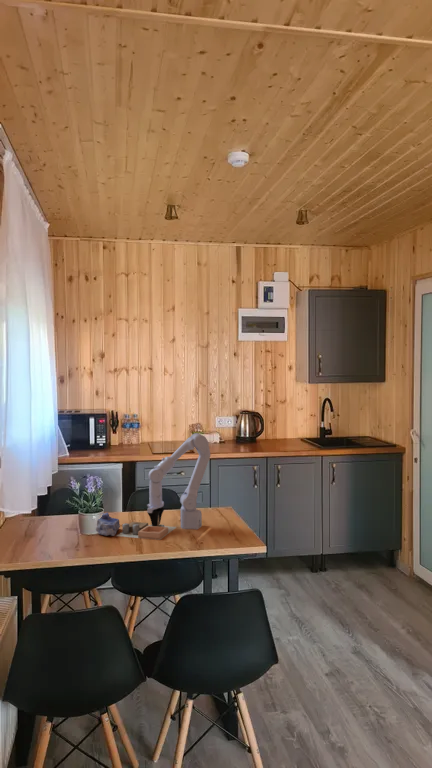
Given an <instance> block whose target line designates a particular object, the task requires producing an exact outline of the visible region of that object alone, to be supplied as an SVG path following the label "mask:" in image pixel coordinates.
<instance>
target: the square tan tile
mask: <svg viewBox="0 0 432 768" xmlns="http://www.w3.org/2000/svg"><path fill="white" fill-rule="evenodd" d="M128 524H129V532H131V533H133V525H134V524H139V525H140V530H142V529H143V528H145V527H146V526H148V525H149V523H148V522H140V521H131V522H130V523H128Z"/></svg>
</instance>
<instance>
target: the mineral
mask: <svg viewBox="0 0 432 768" xmlns="http://www.w3.org/2000/svg"><path fill="white" fill-rule="evenodd" d="M102 514H103V515H102V517H101V518H100V519H98V518H97V520H96V527H95V531H96V532H97V533H98V535H100V536H106V537H107V536H108V537H109V536H111V537H114V536H115V537H116V535H117V532H118V530H120V528H121V526H120V519H119V518H116V517H115V518H114V517H111V516H110V514H109V512H105V513H104V512H103V513H102Z"/></svg>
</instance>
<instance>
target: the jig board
mask: <svg viewBox="0 0 432 768" xmlns="http://www.w3.org/2000/svg"><path fill="white" fill-rule="evenodd" d="M129 524H130V523H126V522H125V523H123V524H122V532H120V533H118V534H115V537H122V538H123V537H124V538H133V539H134V538H135V539H139V538H138V532H139V531H140V525H139V524H134V525H133V533H131V532H129ZM148 526H152V524H148ZM159 527H168V533H167V534H166V535H165V536H163V537H162V538H161V539H155V540H159V541H161V540H162V539H163V538H165V537H166V536H167V535H169V534H170V533H172V532H173V531H174V530H175V529H177V526H166V525H165V524H161V523H160V524H159ZM144 539H146V540H151V539H150V538H143V540H144Z"/></svg>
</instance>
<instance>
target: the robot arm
mask: <svg viewBox="0 0 432 768" xmlns="http://www.w3.org/2000/svg"><path fill="white" fill-rule="evenodd" d="M191 450H196V451H197V454H198V457H197V460H196V463H195V466H194V469H193V471H192V474H191V476H190V479H189V482H188V485H187V487H186V488H185V490H184V492H183V493H182V494H181V496H180V497H179V502H180V504H181V507H180V528H181V529H183V530H199V529H200V528H201V527H202V524H203V523H202V520H203V519H202V518H203V517H202V511H201V509H197V504H198V503H197V502H198V501H197V498H198V491H199V489H200V486H201V483H202V480H203V477H204V474H205V472H206V469H207V466H208V463H209V461H210V458H211V455H212V454H211V450H210V443H209V440H208V439H207V438H206V436H205V435H202V434H201V433H199V432H195V433H193V434H192V435H191V436H189V437H188V438H186V440H185V441H184V442H183V443H182V444H181V445H180V446H179V447H178V448H177V449H176V450H175V451H174V452H173V453H172V454H171V455H170V456H165V457H162V458H161V461H160V462H159V463H158V464H157V465H154V466H153V467H154V468H151V470H149V471H148V475H147V477H148V479H149V485H148V487H149V491H148V493H149V494H148V495H149V496H148V497H149V503H148V504H146V507H147V511H146V513H147V515H148V516H149V519H150V522H151V525H152V526H157V523H158V516H159V524H160V525H161V520H162V515H163V513H164V511H165V507H164V505H165V502H164V501H163V486H162V480H163V479H164V476H166V475H167V474H168V473H169V472H170V471H171V470H172V469H173V468H174V467H175V463H176V461H178V460H179V459H180V458H181V457H182V456H183V455H184V454H185V453H187V452H188V451H191Z"/></svg>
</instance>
